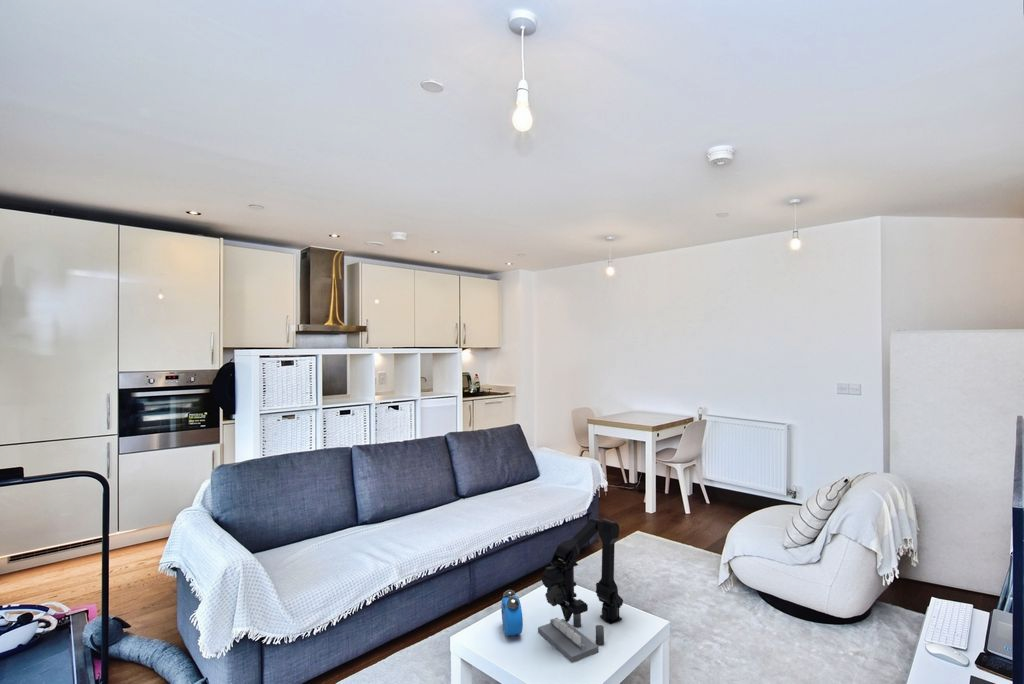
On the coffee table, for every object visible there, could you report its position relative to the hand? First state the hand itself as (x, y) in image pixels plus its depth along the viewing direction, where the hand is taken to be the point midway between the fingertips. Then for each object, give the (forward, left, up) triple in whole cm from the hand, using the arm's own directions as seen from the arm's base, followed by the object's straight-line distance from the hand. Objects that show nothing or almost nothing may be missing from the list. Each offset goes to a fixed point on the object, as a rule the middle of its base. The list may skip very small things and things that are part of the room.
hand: (567, 621), depth 183 cm
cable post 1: (-10, -7, -8) cm, 14 cm away
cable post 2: (-10, +7, -8) cm, 14 cm away
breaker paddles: (0, 0, -5) cm, 5 cm away
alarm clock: (+15, -16, -8) cm, 23 cm away
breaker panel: (0, 0, -8) cm, 8 cm away
